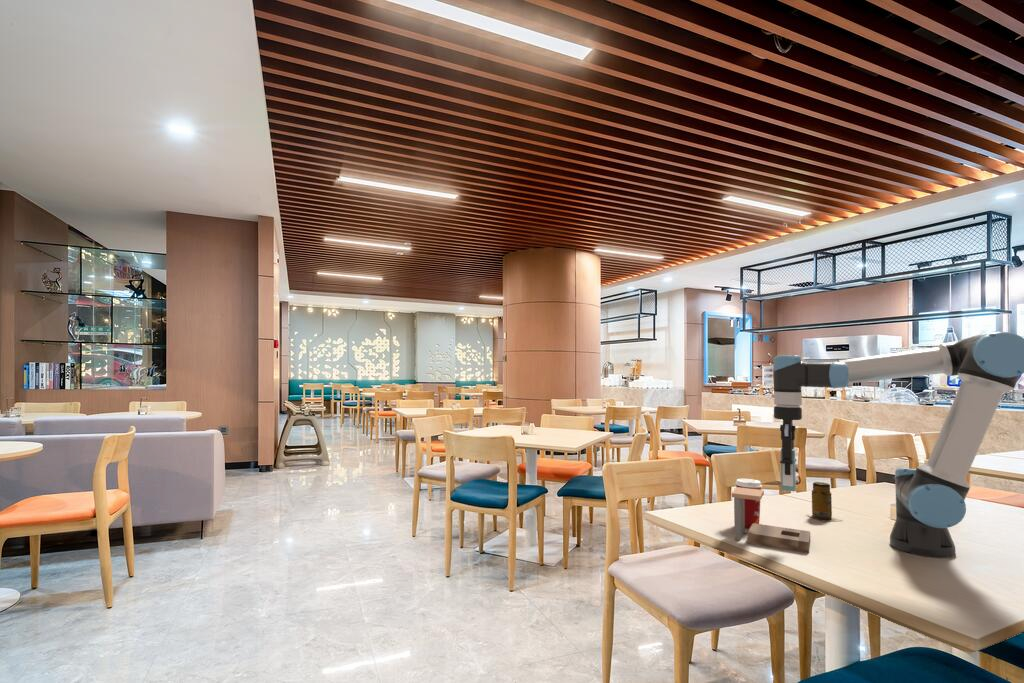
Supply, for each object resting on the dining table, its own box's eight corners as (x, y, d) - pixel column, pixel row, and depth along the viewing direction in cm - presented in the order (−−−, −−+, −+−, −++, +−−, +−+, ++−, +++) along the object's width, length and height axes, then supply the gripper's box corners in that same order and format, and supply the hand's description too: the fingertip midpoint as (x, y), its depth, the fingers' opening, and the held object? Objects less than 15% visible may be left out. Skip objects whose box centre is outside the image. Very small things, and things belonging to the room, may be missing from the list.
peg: (795, 489, 159) (795, 449, 160) (794, 491, 156) (794, 450, 157) (782, 487, 161) (781, 448, 161) (781, 489, 158) (780, 449, 158)
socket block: (810, 541, 160) (810, 531, 160) (808, 553, 150) (808, 542, 150) (752, 532, 168) (752, 523, 168) (747, 543, 158) (747, 532, 158)
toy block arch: (764, 535, 166) (763, 490, 166) (760, 544, 157) (760, 496, 158) (737, 531, 170) (736, 487, 170) (732, 539, 161) (731, 493, 162)
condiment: (822, 514, 191) (822, 480, 191) (842, 521, 182) (841, 486, 183) (805, 515, 189) (804, 481, 190) (824, 522, 181) (823, 486, 181)
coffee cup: (765, 530, 170) (764, 483, 171) (738, 529, 172) (737, 482, 173) (759, 523, 179) (758, 478, 179) (733, 521, 180) (732, 477, 181)
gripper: (776, 404, 169) (777, 478, 168) (771, 407, 155) (771, 488, 153) (803, 405, 165) (804, 481, 164) (800, 408, 151) (801, 491, 149)
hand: (788, 484), depth 158 cm, fingers closed on peg, 4 cm apart
